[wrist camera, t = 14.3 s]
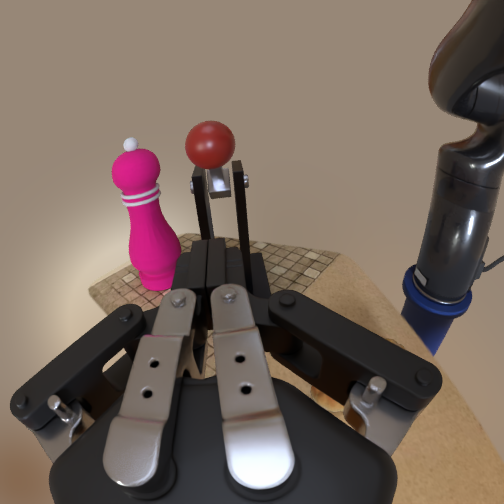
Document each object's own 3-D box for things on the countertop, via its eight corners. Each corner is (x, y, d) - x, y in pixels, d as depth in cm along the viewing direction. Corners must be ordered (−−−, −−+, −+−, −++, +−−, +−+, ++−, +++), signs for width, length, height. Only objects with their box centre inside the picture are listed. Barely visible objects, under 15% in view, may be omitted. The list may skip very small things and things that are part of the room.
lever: (237, 155, 18) (232, 109, 18) (181, 162, 18) (180, 115, 18) (238, 201, 31) (235, 170, 31) (205, 205, 31) (202, 174, 31)
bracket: (274, 317, 32) (270, 181, 24) (195, 325, 32) (164, 193, 23) (261, 259, 42) (255, 151, 34) (200, 265, 42) (182, 159, 33)
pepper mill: (195, 267, 42) (171, 128, 31) (169, 298, 36) (130, 142, 25) (157, 260, 44) (128, 134, 33) (129, 287, 38) (88, 149, 28)
